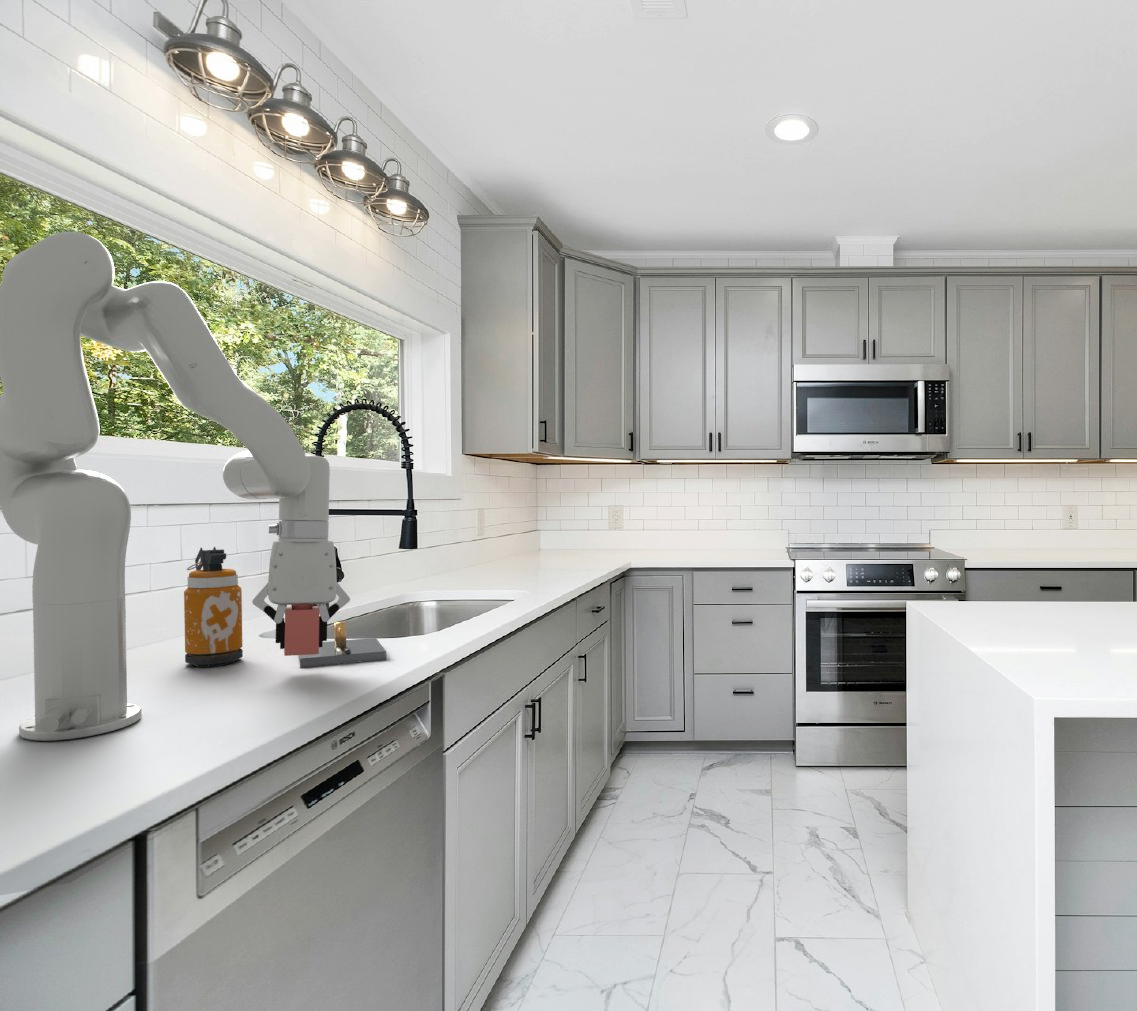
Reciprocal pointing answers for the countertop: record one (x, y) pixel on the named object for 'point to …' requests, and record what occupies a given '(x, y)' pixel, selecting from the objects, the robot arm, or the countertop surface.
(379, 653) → the grey plate with peg
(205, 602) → the canister
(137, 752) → the countertop surface
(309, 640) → the pink cube with dome
